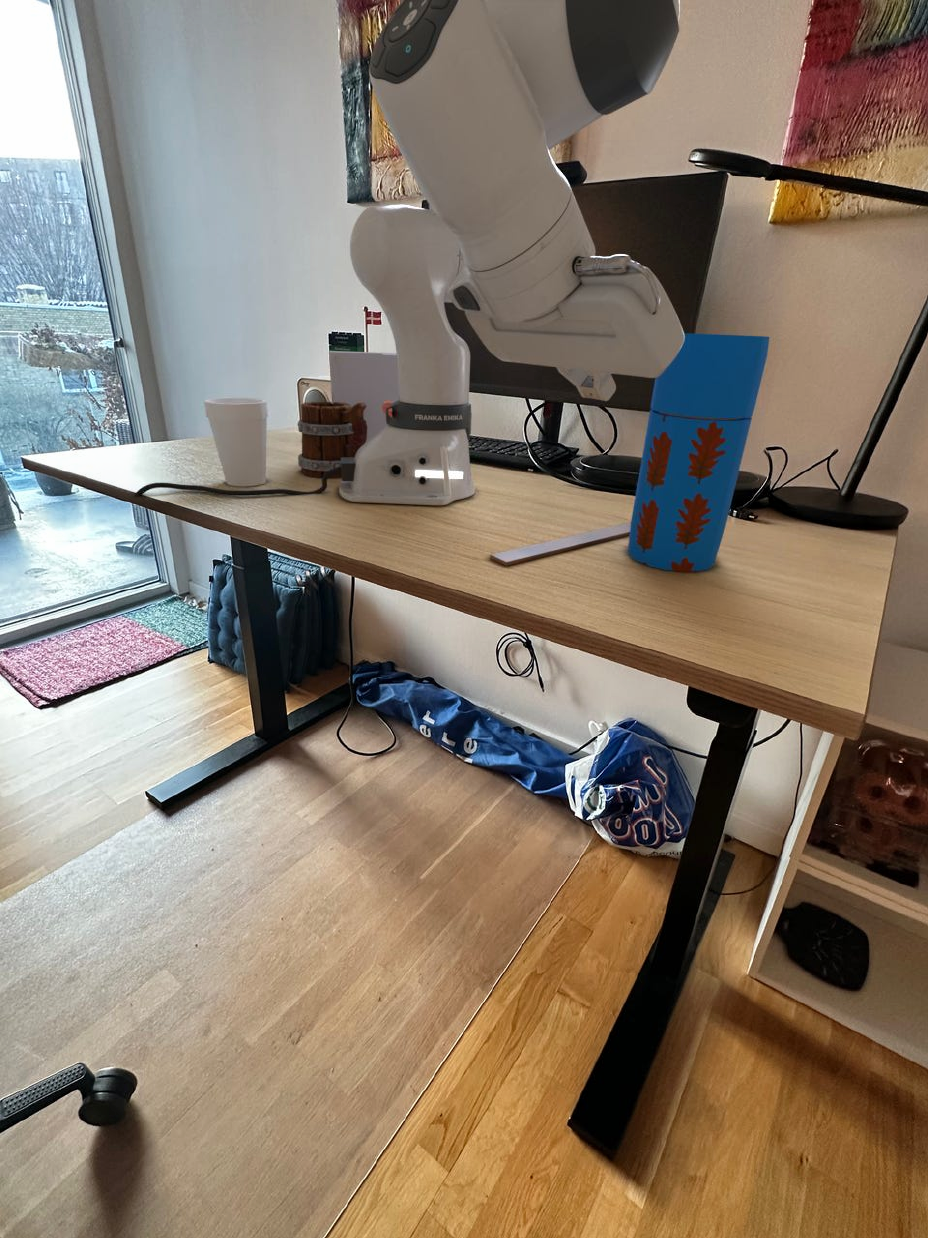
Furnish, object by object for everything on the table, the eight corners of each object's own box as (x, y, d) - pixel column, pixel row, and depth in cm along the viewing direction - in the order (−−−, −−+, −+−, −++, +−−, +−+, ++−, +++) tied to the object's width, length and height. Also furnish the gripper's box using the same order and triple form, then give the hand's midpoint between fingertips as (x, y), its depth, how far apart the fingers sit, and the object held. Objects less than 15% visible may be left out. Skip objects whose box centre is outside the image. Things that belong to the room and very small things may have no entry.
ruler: (506, 566, 68) (506, 562, 67) (489, 558, 70) (490, 554, 70) (663, 526, 84) (663, 523, 84) (646, 521, 86) (646, 518, 86)
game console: (467, 458, 124) (471, 356, 115) (337, 460, 117) (331, 351, 108) (459, 452, 129) (463, 354, 120) (335, 455, 122) (328, 350, 113)
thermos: (727, 575, 67) (788, 337, 56) (634, 569, 68) (676, 332, 57) (702, 545, 77) (751, 336, 66) (621, 539, 78) (655, 332, 67)
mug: (328, 459, 116) (333, 381, 108) (381, 483, 110) (391, 402, 102) (281, 468, 107) (282, 383, 99) (336, 495, 101) (343, 407, 93)
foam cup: (234, 474, 103) (223, 396, 97) (284, 477, 102) (276, 399, 96) (205, 486, 95) (192, 402, 89) (259, 490, 94) (249, 405, 88)
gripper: (671, 217, 38) (719, 378, 47) (477, 240, 52) (545, 360, 62) (615, 291, 37) (675, 438, 47) (435, 294, 52) (510, 406, 61)
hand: (600, 394), depth 54 cm, fingers closed
